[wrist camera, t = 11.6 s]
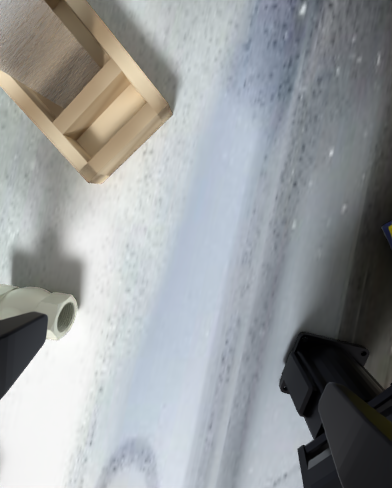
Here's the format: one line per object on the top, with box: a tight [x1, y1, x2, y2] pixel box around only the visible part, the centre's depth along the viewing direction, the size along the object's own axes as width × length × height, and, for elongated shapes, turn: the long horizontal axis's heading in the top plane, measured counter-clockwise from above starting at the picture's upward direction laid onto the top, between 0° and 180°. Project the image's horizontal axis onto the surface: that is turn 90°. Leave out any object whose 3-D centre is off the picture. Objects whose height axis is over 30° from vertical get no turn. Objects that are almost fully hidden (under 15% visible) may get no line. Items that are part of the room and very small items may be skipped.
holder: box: [0, 0, 173, 184], centre depth 16 cm, size 12×8×2 cm
